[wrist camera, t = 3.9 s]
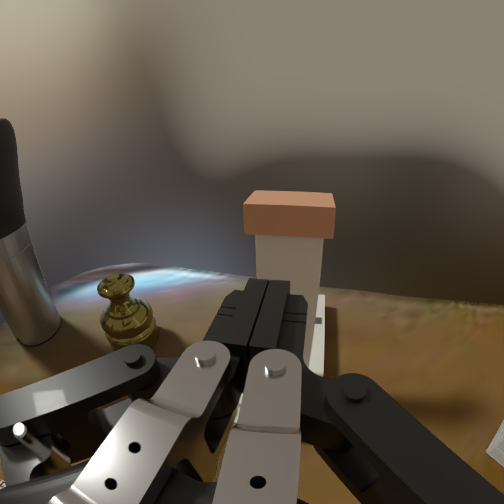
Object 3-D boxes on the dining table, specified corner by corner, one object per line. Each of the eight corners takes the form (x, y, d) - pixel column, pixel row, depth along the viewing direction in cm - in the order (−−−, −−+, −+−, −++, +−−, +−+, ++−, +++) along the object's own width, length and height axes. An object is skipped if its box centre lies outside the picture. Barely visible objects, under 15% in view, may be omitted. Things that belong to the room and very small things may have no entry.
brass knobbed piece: (120, 320, 38) (101, 262, 33) (164, 322, 38) (149, 261, 33) (102, 354, 31) (75, 292, 27) (151, 359, 31) (128, 293, 27)
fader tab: (253, 387, 25) (243, 203, 17) (260, 362, 28) (255, 190, 20) (310, 394, 24) (335, 207, 16) (312, 367, 27) (331, 193, 19)
